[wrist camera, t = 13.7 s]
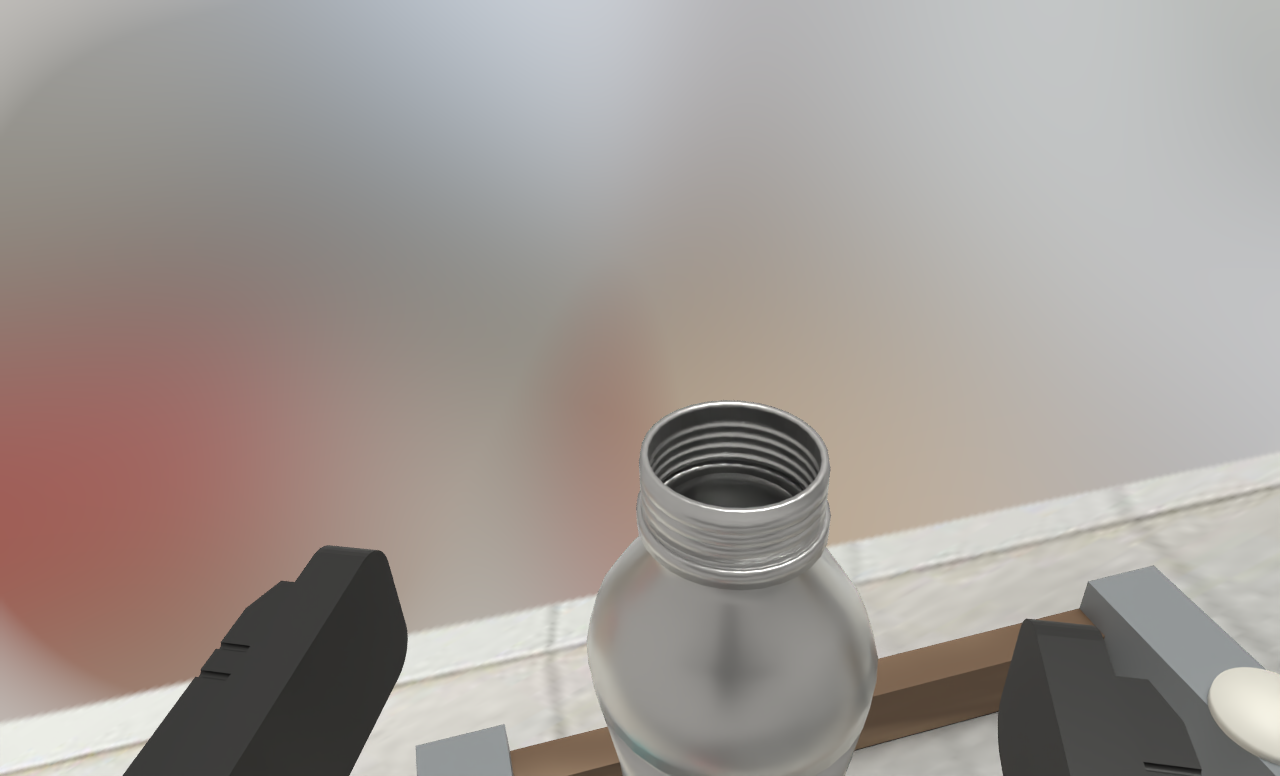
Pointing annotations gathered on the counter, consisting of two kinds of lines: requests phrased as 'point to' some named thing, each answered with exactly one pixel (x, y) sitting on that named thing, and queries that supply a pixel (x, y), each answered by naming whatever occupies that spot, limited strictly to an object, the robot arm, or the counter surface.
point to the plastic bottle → (732, 607)
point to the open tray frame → (901, 706)
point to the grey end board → (467, 755)
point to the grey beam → (1191, 670)
